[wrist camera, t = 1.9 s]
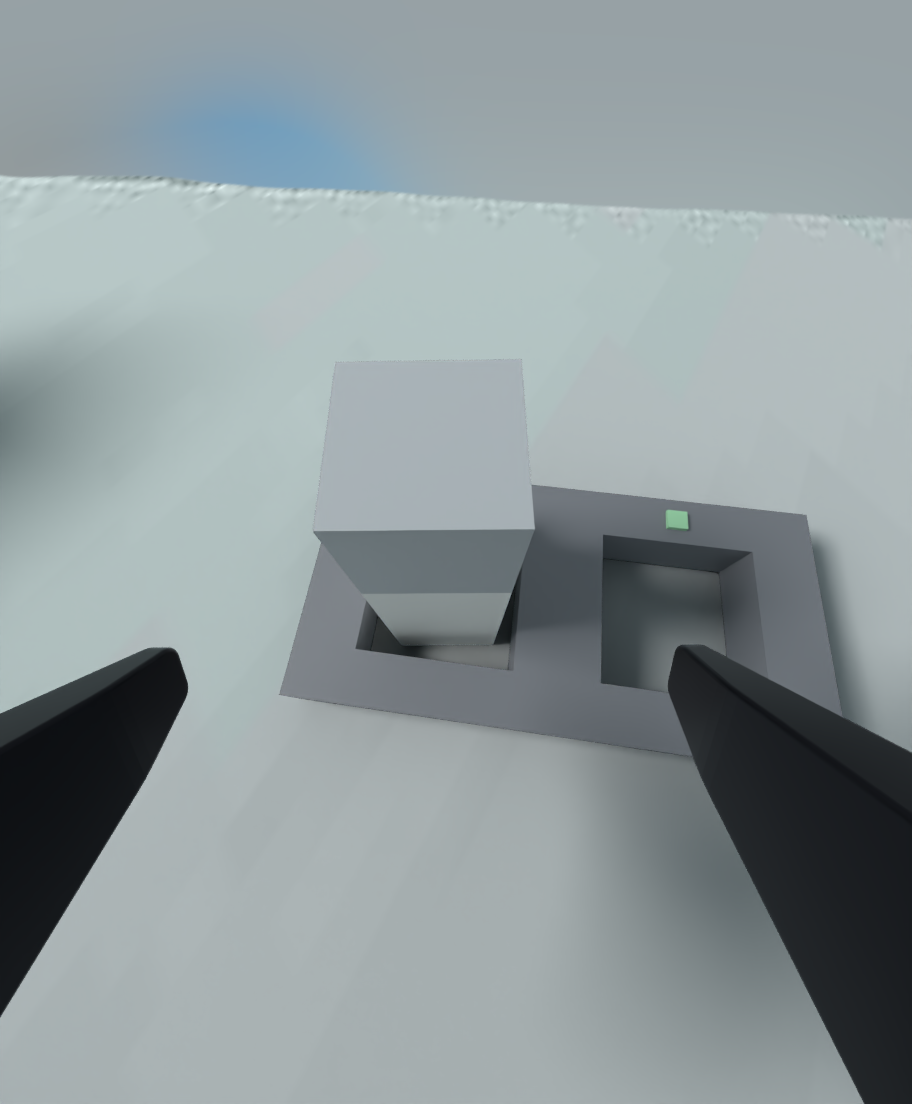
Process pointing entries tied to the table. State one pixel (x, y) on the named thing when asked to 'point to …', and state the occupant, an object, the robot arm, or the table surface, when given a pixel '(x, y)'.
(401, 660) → the socket plate
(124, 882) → the table surface
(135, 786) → the robot arm
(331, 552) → the plug
